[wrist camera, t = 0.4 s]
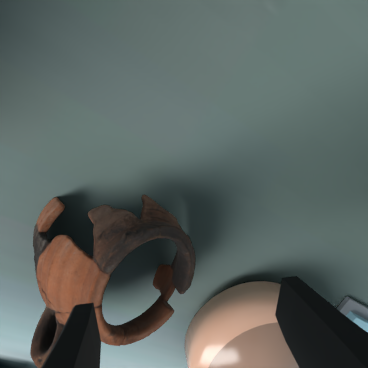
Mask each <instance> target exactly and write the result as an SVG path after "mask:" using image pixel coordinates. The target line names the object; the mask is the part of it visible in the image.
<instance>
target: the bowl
mask: <svg viewBox="0 0 368 368" xmlns="http://www.w3.org/2000/svg"><path fill="white" fill-rule="evenodd" d="M280 286H281V284H278V283H274V282H267V281H255V282H247V283H243V284H239V285H236V286H233V287H231V288H228V289H226V290H224V291H222V292H221V293H219V294H217V295H216V296H214V297H213V298H212V299H210V300H209V301H208V302H207V303H206V304H205V305H204V306H203V307H201V309H200V310H199V311H198V312H197V313H196V315H195V316H194V318H193V319H192V321H191V323H190V325H189V327H188V330H187V333H186V336H185V343H184V344H185V355H186V360H187V365H188V368H299V366H298V364H297V362H296V360H295V359H294V357H293V355H292V353H291V351H290V349H289V347H288V345H287V343H286V341H285V339H284V336H283V334H282V331H281V329H280V326H279V324H278V321H277V318H276V316H275V313H276V307H277V302H278V297H279V291H280Z"/></svg>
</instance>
